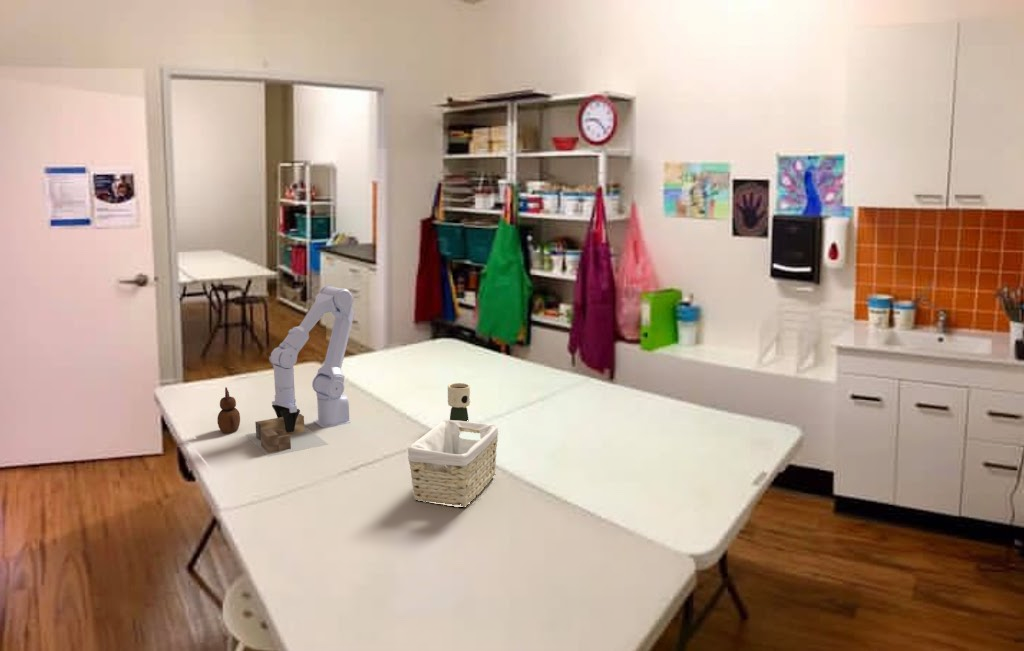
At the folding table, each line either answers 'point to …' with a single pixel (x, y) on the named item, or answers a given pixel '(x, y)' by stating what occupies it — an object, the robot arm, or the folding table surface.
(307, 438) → the mat
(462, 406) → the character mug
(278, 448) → the bracket
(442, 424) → the storage basket
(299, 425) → the rail
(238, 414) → the wooden figurine
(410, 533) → the folding table surface
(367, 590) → the folding table surface
